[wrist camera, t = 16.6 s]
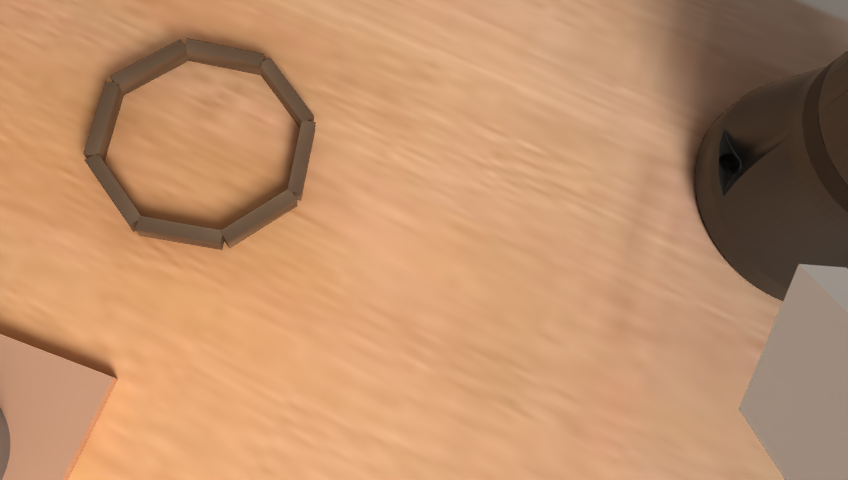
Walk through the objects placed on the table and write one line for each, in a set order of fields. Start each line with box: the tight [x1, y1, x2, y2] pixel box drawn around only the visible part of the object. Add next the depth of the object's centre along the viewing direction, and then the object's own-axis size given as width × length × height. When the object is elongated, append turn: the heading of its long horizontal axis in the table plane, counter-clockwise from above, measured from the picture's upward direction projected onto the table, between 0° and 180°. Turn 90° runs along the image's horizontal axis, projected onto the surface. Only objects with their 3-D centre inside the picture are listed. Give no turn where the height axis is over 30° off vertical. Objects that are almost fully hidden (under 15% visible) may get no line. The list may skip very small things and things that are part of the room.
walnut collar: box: [84, 38, 315, 250], centre depth 44 cm, size 12×12×1 cm
